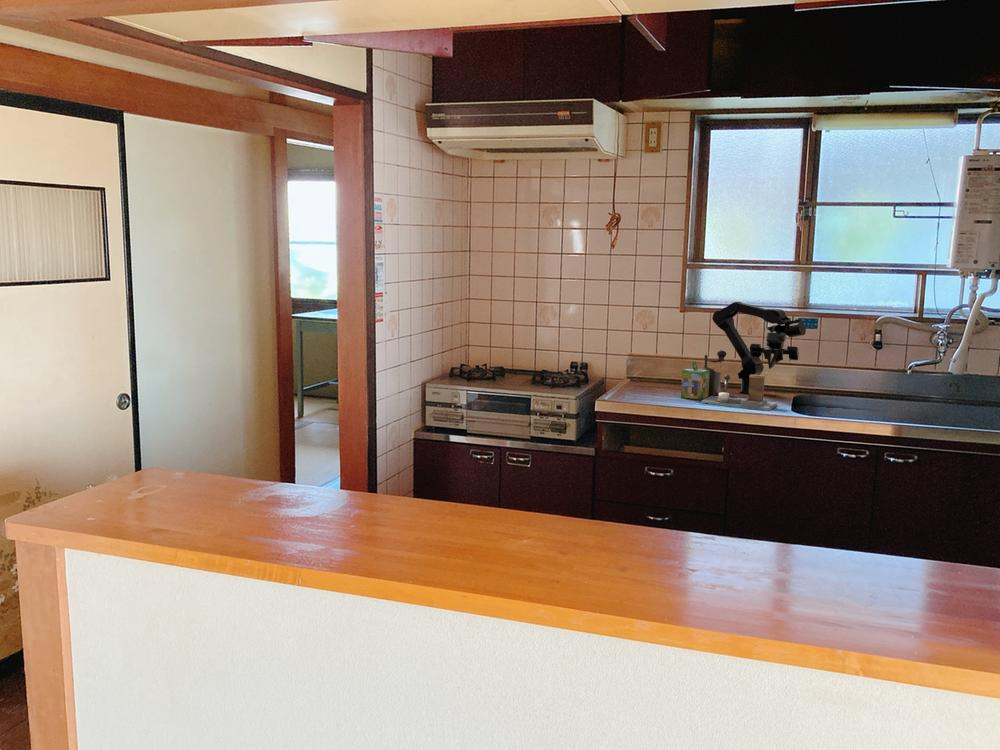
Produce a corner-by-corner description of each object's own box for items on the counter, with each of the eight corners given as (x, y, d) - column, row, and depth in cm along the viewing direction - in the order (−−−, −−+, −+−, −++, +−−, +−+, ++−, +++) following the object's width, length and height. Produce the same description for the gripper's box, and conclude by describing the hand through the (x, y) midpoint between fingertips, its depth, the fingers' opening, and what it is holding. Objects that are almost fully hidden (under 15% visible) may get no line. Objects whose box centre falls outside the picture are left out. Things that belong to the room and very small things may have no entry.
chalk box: (702, 400, 341) (704, 364, 339) (680, 398, 346) (681, 362, 344) (709, 397, 349) (711, 361, 347) (687, 395, 354) (689, 359, 352)
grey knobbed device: (713, 397, 350) (716, 353, 347) (688, 394, 356) (690, 351, 353) (725, 392, 363) (728, 350, 360) (700, 389, 369) (702, 348, 366)
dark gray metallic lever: (722, 394, 341) (725, 375, 343) (727, 394, 340) (731, 376, 342) (721, 392, 339) (724, 373, 341) (726, 393, 338) (729, 374, 340)
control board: (711, 398, 347) (711, 387, 347) (776, 405, 334) (777, 394, 334) (700, 403, 335) (701, 392, 334) (768, 410, 322) (769, 399, 322)
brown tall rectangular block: (749, 401, 336) (751, 374, 334) (763, 402, 333) (764, 375, 332) (747, 402, 333) (749, 375, 331) (761, 403, 330) (763, 376, 329)
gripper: (752, 323, 347) (743, 353, 339) (799, 326, 338) (792, 357, 330) (755, 341, 355) (747, 370, 347) (802, 344, 346) (794, 374, 338)
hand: (769, 367), depth 341 cm, fingers closed
